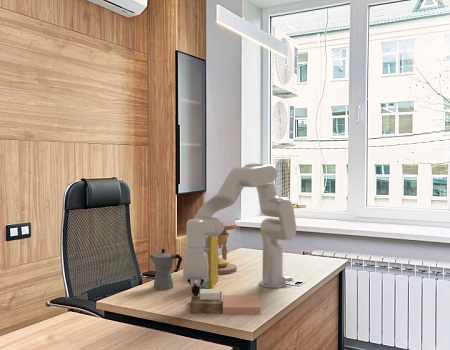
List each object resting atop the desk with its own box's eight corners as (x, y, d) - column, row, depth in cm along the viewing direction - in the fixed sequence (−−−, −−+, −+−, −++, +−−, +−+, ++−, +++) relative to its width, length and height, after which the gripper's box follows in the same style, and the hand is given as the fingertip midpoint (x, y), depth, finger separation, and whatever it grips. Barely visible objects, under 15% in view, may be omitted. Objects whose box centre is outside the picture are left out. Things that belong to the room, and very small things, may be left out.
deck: (221, 300, 195) (221, 291, 195) (221, 313, 179) (221, 303, 179) (193, 300, 195) (193, 291, 195) (190, 313, 179) (190, 303, 179)
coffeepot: (146, 290, 211) (146, 250, 211) (151, 284, 221) (151, 246, 220) (180, 290, 210) (180, 251, 209) (183, 285, 219) (183, 247, 219)
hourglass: (225, 276, 236) (225, 227, 235) (197, 271, 246) (197, 224, 245) (242, 269, 251) (242, 222, 250) (215, 265, 260) (215, 220, 259)
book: (212, 290, 211) (212, 235, 210) (197, 289, 213) (197, 234, 212) (219, 280, 228) (219, 229, 227) (206, 279, 229) (206, 229, 228)
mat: (257, 300, 195) (257, 295, 195) (260, 313, 179) (260, 307, 179) (222, 300, 195) (222, 295, 195) (222, 313, 179) (222, 307, 179)
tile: (220, 295, 190) (220, 288, 190) (220, 299, 184) (220, 293, 184) (200, 295, 190) (200, 289, 190) (199, 299, 184) (199, 293, 184)
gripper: (214, 248, 190) (214, 292, 191) (178, 248, 190) (178, 292, 191) (214, 252, 183) (214, 298, 183) (176, 251, 183) (176, 298, 183)
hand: (195, 295), depth 187 cm, fingers closed
